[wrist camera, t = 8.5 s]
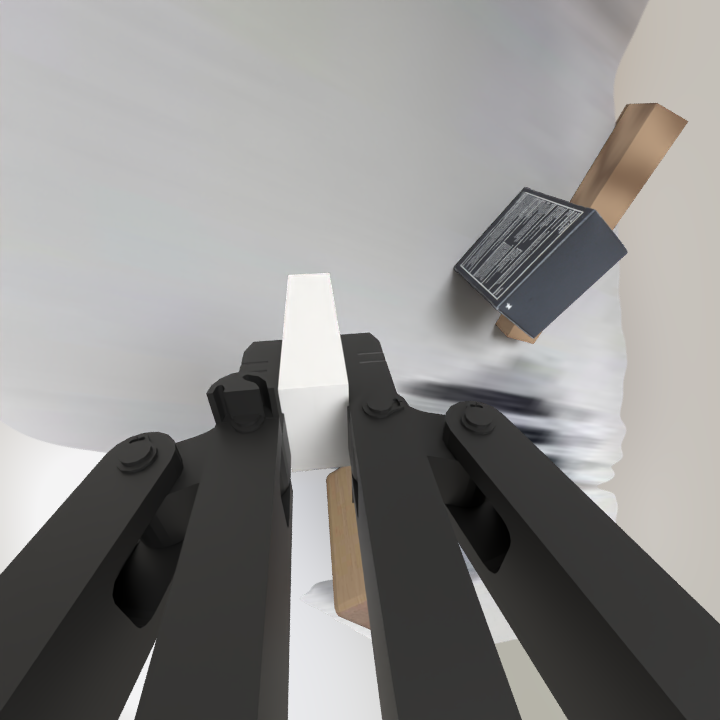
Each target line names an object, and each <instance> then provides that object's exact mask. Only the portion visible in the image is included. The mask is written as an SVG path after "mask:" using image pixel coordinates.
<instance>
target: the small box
mask: <svg viewBox="0 0 720 720" xmlns="http://www.w3.org/2000/svg"><path fill="white" fill-rule="evenodd" d="M626 254H627V250H626V248H625V247H624V245H623V244H622V243H621V241H620V240H619V239H618V237H617V236H616V235H615V233H614V232H613V231H612V230H611V228H610V227H609V226H608V224H607V223H606V222H605V221H604V219H603V218H602V217H601V216H600V214H599V213H598V212H597V211H596V210H595V209H592V208H588V207H583V206H580V205H576V204H573V203H569V202H567V201H565V200H562V199H558V198H555V197H552V196H549V195H545V194H543V193H540V192H536V191H534V190H531V189H530V188H527V187H525V188H524V189H523V190H522V191H521V192H520V193H519V194H518V196H517V197H516V198H515V199H514V200H513V201H512V202H511V203H510V205H509V206H508V207H507V208H506V209H505V210H504V211H503V212H502V214H501V215H500V216H499V217H498V218H497V219H496V220H495V221H494V223H493V224H492V225H491V226H490V227H489V228H488V229H487V231H486V232H485V233H484V234H483V235H482V236H481V237H480V238H479V239H478V241H477V242H476V243H475V244H474V245H473V246H472V247H471V249H470V250H469V251H468V252H467V253H466V254H465V255H464V256H463V258H462V259H461V260H460V261H459V262H458V263H457V264H456V266H455V271H456V272H457V273H459V274H460V275H461V276H462V277H463V278H464V279H465V280H466V281H467V282H468V283H469V284H470V285H471V286H472V287H474V288H475V289H476V290H477V291H478V292H479V293H480V294H481V295H482V296H483V297H484V298H485V299H486V300H487V301H488V302H489V303H490V304H491V305H492V306H493V307H494V308H495V309H496V310H497V311H499V312H500V313H501V314H503V315H504V316H505V317H506V318H507V319H509V320H510V321H511V322H512V323H514V324H515V325H516V326H517V327H518V328H520V329H521V330H522V331H523V332H524V333H526V334H527V335H528V336H529V337H531V338H532V339H534V338H535V337H536V336H537V335H538V334H540V333H541V332H542V331H543V330H544V329H545V328H546V327H547V326H548V325H549V324H550V323H551V322H553V321H554V320H555V319H556V318H557V317H558V316H559V315H560V314H561V313H562V312H563V311H564V310H566V309H567V308H568V307H569V306H570V305H571V304H572V303H573V302H574V301H575V300H577V299H578V298H579V297H580V296H581V295H582V294H583V293H584V292H585V291H586V290H587V289H588V288H590V287H591V286H592V285H593V284H594V283H595V282H596V281H597V280H598V279H599V278H601V277H602V276H603V275H604V274H605V273H606V272H607V271H608V270H609V269H610V268H612V267H613V266H614V265H615V264H616V263H617V262H618V261H619V260H620V259H621V258H623V257H624V256H625V255H626Z"/></svg>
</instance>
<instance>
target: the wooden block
mask: <svg viewBox="0 0 720 720" xmlns="http://www.w3.org/2000/svg"><path fill="white" fill-rule="evenodd" d="M326 483H327V499H328V514H329V529H330V544H331V560H332V575H333V591H334V606H335V610H336V613H337V615H338V616H339V617H342V618H344V619H347V620H349V621H351V622H354V623H356V624H358V625H361V626H363V627H365V628H368V629H370V621H369V614H368V606H367V598H366V590H365V583H364V575H363V567H362V560H361V552H360V544H359V537H358V529H357V521H356V513H355V506H354V503H352V474H351V466H345V467H341V468H339V469H337V470H335V471H334V472H332V473H330V474H329V475H328V476H327V479H326ZM370 630H371V629H370Z"/></svg>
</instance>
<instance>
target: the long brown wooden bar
mask: <svg viewBox="0 0 720 720" xmlns="http://www.w3.org/2000/svg"><path fill="white" fill-rule="evenodd" d="M687 122H688V121H687V120H685V119H683V118H682V117H680V116H678V115H676V114H675V113H673V112H671V111H670V110H668V109H666V108H665V107H663V106H661V105H659V104H658V103H645V104H626V106H625V107H624V109H623V111H622V112H621V114H620V116H619V117H618V119H617V121H616V122H615V128H614V130H613V132H612V133H611V135H610V137H609V138H608V140H607V142H606V143H605V145H604V146H603V148H602V150H601V151H600V153H599V155H598V156H597V158H596V160H595V161H594V163H593V165H592V166H591V168H590V169H589V171H588V173H587V174H586V176H585V178H584V179H583V181H582V183H581V184H580V186H579V188H578V189H577V191H576V192H575V194H574V196H573V197H572V199H571V201H570V202H569V203H573V204H576V205H580V206H583V207H588V208H592V209H595V210H596V211H597V212H598V213H599V214H600V216H601V217H602V218H603V219H604V221H605V222H606V223H607V224H608V226H609V227H610V228H611V230H613V229H614V228H615V226H616V225H617V223H618V222H619V220H620V219H621V217H622V216H623V215H624V213H625V212H626V210H627V209H628V207H629V206H630V204H631V203H632V202H633V200H634V199H635V197H636V196H637V194H638V193H639V192H640V190H641V189H642V187H643V185H644V184H645V183H646V182H647V180H648V179H649V177H650V176H651V174H652V173H653V171H654V170H655V169H656V167H657V166H658V164H659V163H660V161H661V160H662V159H663V157H664V156H665V154H666V153H667V151H668V150H669V148H670V147H671V146H672V144H673V143H674V141H675V140H676V138H677V137H678V136H679V134H680V133H681V131H682V130H683V128H684V127H685V125H686V124H687ZM496 325H497V326H498V328H499V329H500V330H501V331H502V332H503V333H504V334H505V335H506V336H507V337H509V338H513V339H517V340H521V341H525V342H528V343H532V344H534V343H535V341H536V340H537V338H538V337H539V335H540V334H541V333H540V334H538V335H537V336H536V337H535V338H534V339H532V338H531V337H529V336H528V335H527V334H526V333H524V332H523V331H522V330H521V329H520V328H518V327H517V326H516V325H515V324H514V323H512V322H511V321H510V320H509V319H507V318H506V317H505V316H504V315H503V314H501V316H500V317H499V319H498V321H497V322H496Z"/></svg>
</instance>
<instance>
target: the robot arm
mask: <svg viewBox="0 0 720 720" xmlns="http://www.w3.org/2000/svg"><path fill="white" fill-rule="evenodd" d="M206 394H207V397H208V400H209V403H210V407H211V410H212V413H213V416H214V419H215V422H216V425H215V428H213V429H211V430H210V431H208V432H206V433H204V434H201V435H199V436H196V437H193V438H190V439H187V440H184V441H181V442H178V443H175V441H174V440H173V439H172V438H171V437H170V436H169V435H167V434H164V433H160V432H149V433H143V434H139V435H136V436H133V437H130V438H128V439H126V440H125V441H123V442H121V443H119V444H117V445H116V446H115V447H114V448H113V449H112V450H110V451H109V452H108V453H107V454H106V455H105V456H104V457H103V458H102V460H101V461H100V462H99V463H98V464H97V465H96V467H95V468H94V469H93V470H92V471H91V472H90V473H89V474H88V475H87V477H86V478H85V479H84V480H83V481H82V483H81V484H80V485H79V486H78V487H77V488H76V489H75V490H74V491H73V493H72V494H71V495H70V496H69V497H68V498H67V499H66V501H65V502H64V503H63V504H62V505H61V506H60V507H59V508H58V510H57V511H56V512H55V513H54V514H53V515H52V517H51V518H50V519H49V520H48V521H47V522H46V524H45V525H44V526H43V527H42V528H41V529H40V530H39V531H38V532H37V534H36V535H35V536H34V537H33V538H32V539H31V540H30V541H29V543H28V544H27V545H26V546H25V547H24V548H23V550H22V551H21V552H20V553H19V554H18V555H17V556H16V557H15V559H14V560H13V561H12V562H11V563H10V564H9V566H8V567H7V568H6V569H5V570H4V571H3V572H2V573H1V574H0V720H118V719H119V716H120V714H121V712H122V710H123V708H124V706H125V704H126V702H127V700H128V698H129V695H130V693H131V691H132V689H133V687H134V685H135V683H136V680H137V679H138V676H139V674H140V672H141V670H142V668H143V666H144V664H145V662H146V660H147V657H148V655H149V653H150V651H151V649H152V647H153V645H154V643H155V640H156V643H155V647H154V651H153V654H152V658H151V661H150V665H149V668H148V672H147V676H146V679H145V683H144V687H143V691H142V694H141V698H140V701H139V705H138V709H137V712H136V716H135V719H134V720H288V683H289V681H288V680H289V637H290V636H289V635H290V593H291V547H292V503H293V490H292V485H291V479H290V477H291V468H292V472H299V471H308V470H317V469H327V468H336V467H345V466H351V474H352V503H354V506H355V513H356V521H357V529H358V537H359V544H360V552H361V560H362V567H363V575H364V583H365V590H366V598H367V606H368V614H369V621H370V629H371V637H372V644H373V652H374V660H375V666H376V675H377V683H378V690H379V698H380V705H381V713H382V720H522V719H521V716H520V714H519V711H518V708H517V705H516V702H515V699H514V697H513V694H512V691H511V688H510V686H509V683H508V680H507V678H506V675H505V672H504V669H503V666H502V663H501V661H500V658H499V655H498V652H497V650H496V647H495V644H494V641H493V638H492V636H491V633H490V630H489V627H488V625H487V622H486V619H485V616H484V613H483V611H482V608H481V605H480V602H479V600H478V597H477V594H476V591H475V588H474V586H473V583H472V580H471V577H470V575H469V572H468V569H467V566H466V563H465V561H464V558H463V555H462V552H461V550H460V547H459V544H460V546H461V548H462V549H463V551H464V552H465V554H466V556H467V557H468V559H469V561H470V562H471V564H472V565H473V567H474V569H475V570H476V572H477V573H478V575H479V577H480V578H481V580H482V581H483V583H484V585H485V586H486V588H487V590H488V591H489V593H490V594H491V596H492V598H493V599H494V601H495V602H496V604H497V606H498V607H499V609H500V611H501V612H502V614H503V615H504V617H505V619H506V620H507V622H508V623H509V625H510V627H511V628H512V630H513V632H514V633H515V635H516V636H517V638H518V640H519V641H520V643H521V644H522V646H523V648H524V649H525V651H526V652H527V654H528V656H529V657H530V659H531V661H532V662H533V664H534V665H535V667H536V669H537V670H538V672H539V673H540V675H541V677H542V678H543V680H544V681H545V683H546V685H547V686H548V688H549V690H550V691H551V693H552V694H553V696H554V698H555V699H556V701H557V703H558V704H559V706H560V707H561V709H562V711H563V712H564V714H565V715H566V717H567V719H568V720H720V624H719V623H718V622H717V621H716V620H715V619H714V618H713V617H712V616H711V615H710V614H709V613H708V612H707V611H706V610H705V609H704V608H703V607H702V606H701V605H700V604H699V603H698V602H697V601H696V600H695V599H693V598H692V597H691V596H690V595H689V594H688V593H687V592H686V591H685V590H684V589H683V588H682V587H681V586H680V585H679V584H678V583H677V582H676V581H675V580H674V579H673V578H672V577H671V576H670V575H669V574H668V573H666V571H664V570H663V569H662V568H661V567H660V566H659V565H658V564H657V563H656V562H655V561H654V560H653V559H652V558H651V557H650V556H649V555H648V554H647V553H646V552H645V551H644V550H643V549H642V548H641V547H640V546H639V545H638V544H637V543H636V542H635V541H634V540H632V539H631V538H630V537H629V536H628V535H627V534H626V533H625V532H624V531H623V530H622V529H621V528H620V527H619V526H618V525H617V524H616V523H615V522H614V521H613V520H612V519H611V518H610V517H609V516H608V515H607V514H606V513H605V512H604V511H603V510H601V509H600V508H599V507H598V506H597V505H596V504H595V503H594V502H593V501H592V500H591V499H590V498H589V497H588V496H587V495H586V494H585V493H584V492H583V491H582V490H581V489H580V488H579V487H578V486H577V485H576V484H575V483H574V482H573V481H571V480H570V479H569V478H568V477H567V476H566V475H565V474H564V473H563V472H562V471H561V470H560V469H559V468H558V467H557V466H556V465H555V464H554V463H553V462H552V461H551V460H550V459H549V458H548V457H547V456H546V455H545V454H544V453H543V452H542V451H540V450H539V449H538V448H537V447H536V446H535V445H534V444H533V443H532V442H531V441H530V440H529V439H528V438H527V437H526V436H525V435H524V434H523V433H522V432H521V431H520V430H519V429H518V428H517V427H516V426H515V425H514V424H513V423H512V422H510V421H509V420H508V419H507V418H506V417H505V416H504V415H503V414H502V413H501V412H499V411H498V410H497V409H495V408H494V407H492V406H489V405H487V404H484V403H482V402H474V401H465V402H459V403H457V404H455V405H453V406H451V407H450V408H449V410H448V411H447V412H446V415H441V414H434V413H428V412H423V411H419V410H416V409H414V408H412V407H410V406H409V405H408V404H407V402H406V401H405V399H404V398H403V397H401V396H400V395H398V394H397V392H396V389H395V386H394V383H393V380H392V377H391V374H390V371H389V369H388V366H387V363H386V361H385V357H384V354H383V351H382V348H381V345H380V342H379V340H377V339H376V338H375V337H374V336H373V335H372V334H371V333H358V334H344V335H340V332H339V326H338V320H337V314H336V308H335V302H334V296H333V290H332V285H331V279H330V273H316V274H296V275H288V282H287V294H286V305H285V316H284V327H283V339H282V340H274V341H260V342H253V343H252V344H251V345H250V346H249V347H248V348H247V349H246V350H245V352H244V354H243V358H242V365H241V367H240V371H239V372H238V373H233V374H230V375H228V376H225V377H223V378H221V379H219V380H218V381H217V382H215V383H214V384H213V385H212V386H211V387H210V389H209V390H208V392H207V393H206ZM458 543H459V544H458ZM156 638H157V639H156Z"/></svg>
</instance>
